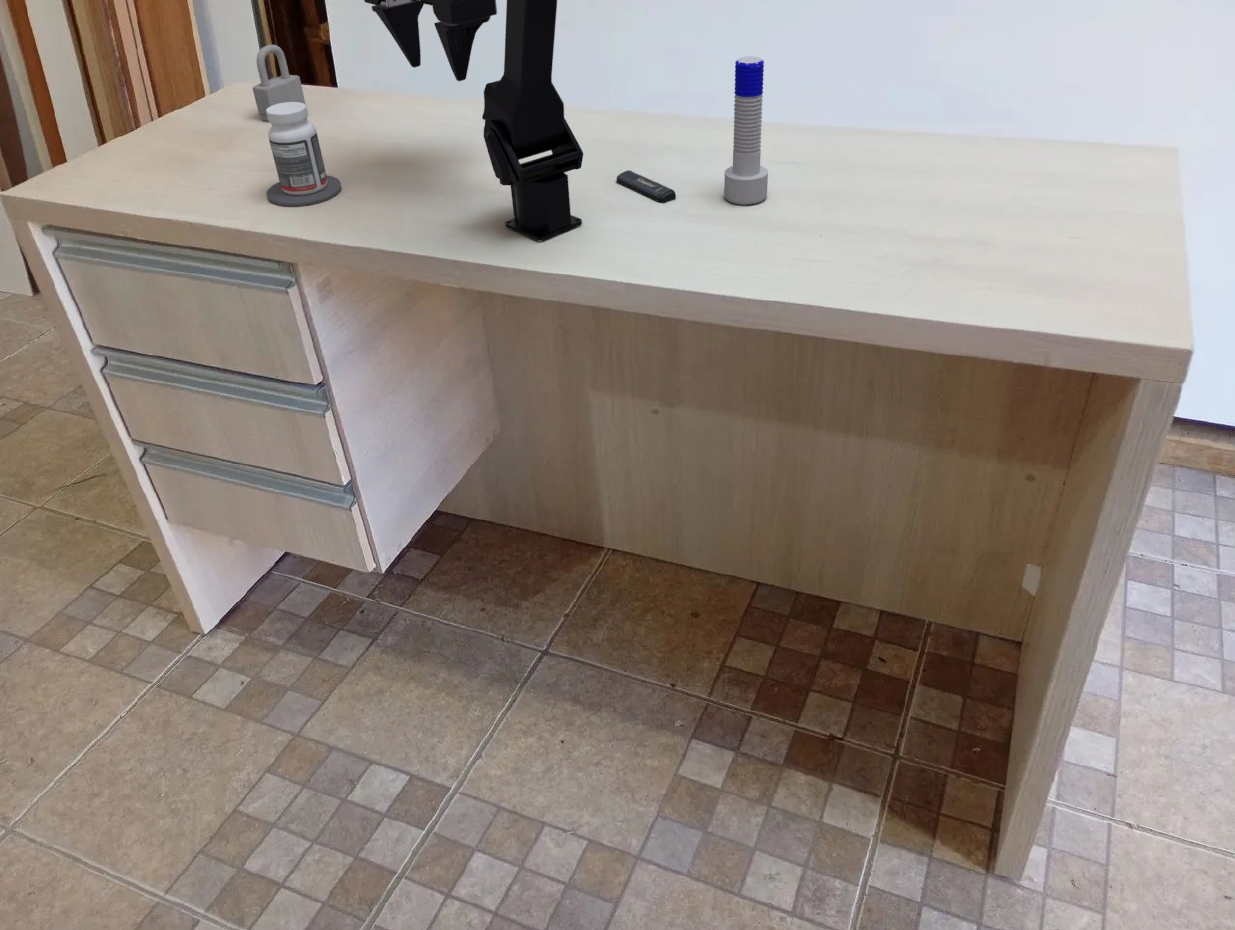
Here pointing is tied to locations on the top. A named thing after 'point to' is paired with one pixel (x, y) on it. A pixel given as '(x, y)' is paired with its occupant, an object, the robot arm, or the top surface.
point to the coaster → (284, 199)
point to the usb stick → (646, 187)
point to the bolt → (747, 136)
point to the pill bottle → (296, 149)
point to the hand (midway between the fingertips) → (438, 73)
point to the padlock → (275, 83)
